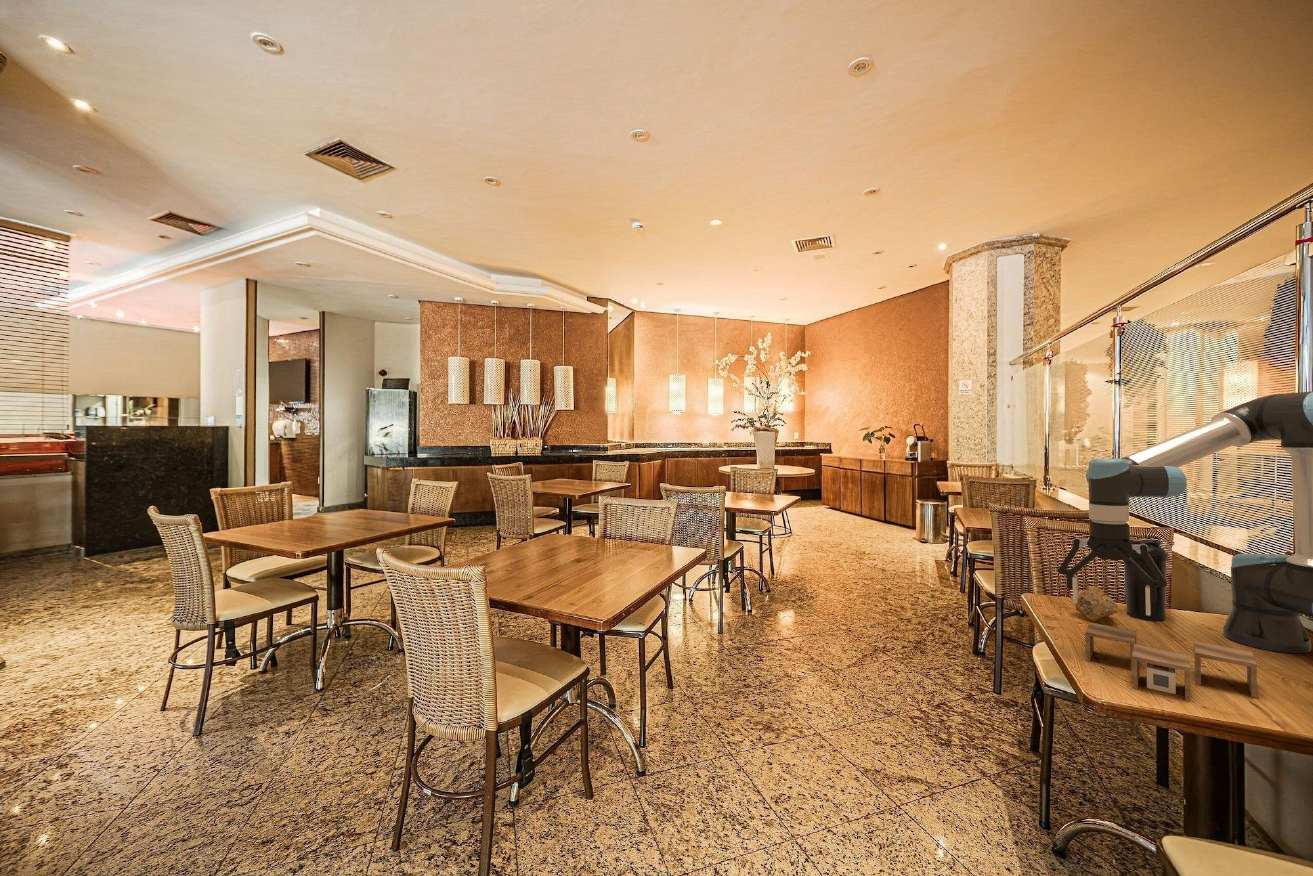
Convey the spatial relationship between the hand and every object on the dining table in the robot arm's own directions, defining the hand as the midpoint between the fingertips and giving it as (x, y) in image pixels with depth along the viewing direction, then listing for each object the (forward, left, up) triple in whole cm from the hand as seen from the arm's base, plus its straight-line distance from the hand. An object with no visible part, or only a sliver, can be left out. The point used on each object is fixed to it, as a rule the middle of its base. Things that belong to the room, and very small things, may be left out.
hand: (1110, 608), depth 131 cm
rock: (-11, -33, -13) cm, 37 cm away
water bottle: (-25, -39, -13) cm, 48 cm away
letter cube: (-3, +14, -13) cm, 19 cm away
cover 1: (0, 0, -13) cm, 13 cm away
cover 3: (-17, +9, -13) cm, 23 cm away
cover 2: (-3, +14, -13) cm, 19 cm away
